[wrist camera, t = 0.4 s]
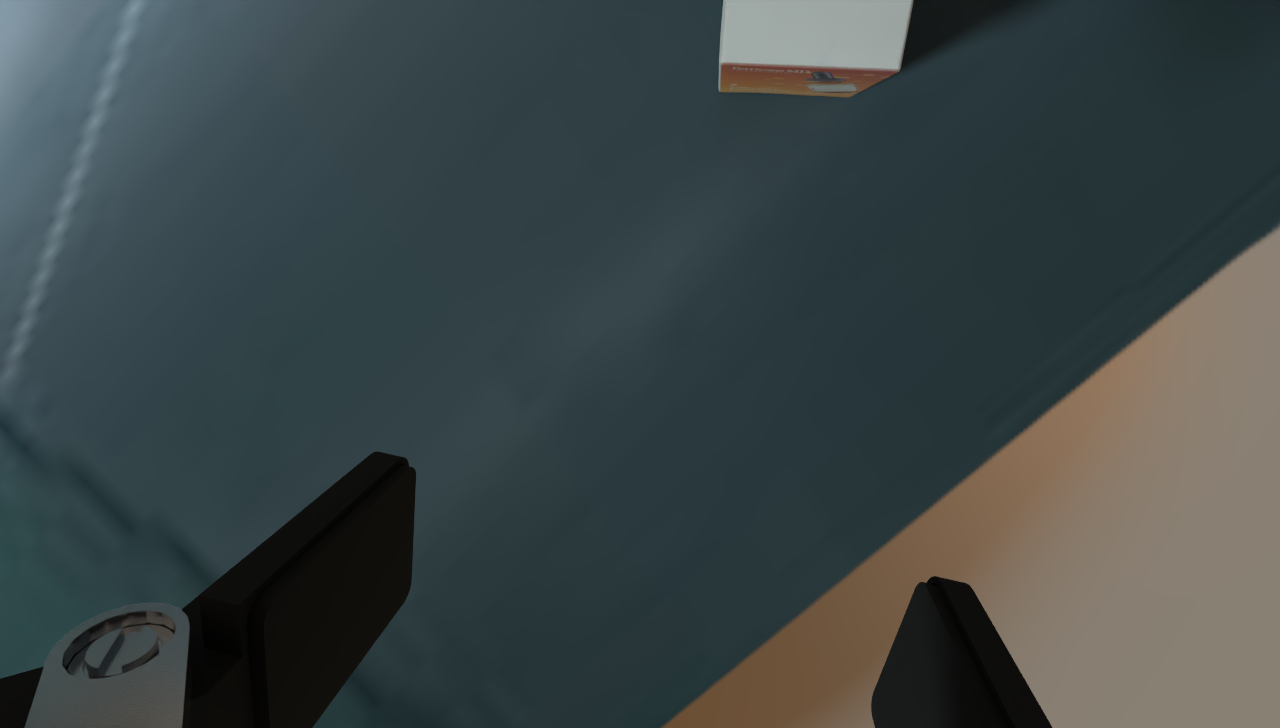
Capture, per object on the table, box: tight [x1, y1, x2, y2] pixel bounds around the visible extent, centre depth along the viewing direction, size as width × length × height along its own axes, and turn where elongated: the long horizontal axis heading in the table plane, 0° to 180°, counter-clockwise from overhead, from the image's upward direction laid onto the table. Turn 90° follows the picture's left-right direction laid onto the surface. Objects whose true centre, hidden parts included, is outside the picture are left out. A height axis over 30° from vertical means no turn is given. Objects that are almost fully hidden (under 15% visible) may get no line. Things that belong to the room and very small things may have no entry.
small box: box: [719, 0, 914, 97], centre depth 30 cm, size 8×6×10 cm
